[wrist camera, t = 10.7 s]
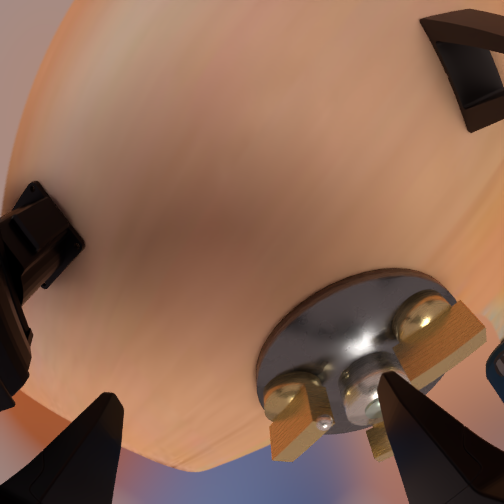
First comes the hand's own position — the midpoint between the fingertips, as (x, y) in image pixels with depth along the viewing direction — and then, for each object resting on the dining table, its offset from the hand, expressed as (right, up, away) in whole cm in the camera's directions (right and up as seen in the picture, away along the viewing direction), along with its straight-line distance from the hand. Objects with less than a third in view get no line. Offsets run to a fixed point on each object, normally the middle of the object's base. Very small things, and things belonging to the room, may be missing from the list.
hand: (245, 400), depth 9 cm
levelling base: (+11, -6, +16) cm, 20 cm away
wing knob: (+4, -7, +15) cm, 17 cm away
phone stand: (+16, +18, +6) cm, 25 cm away
